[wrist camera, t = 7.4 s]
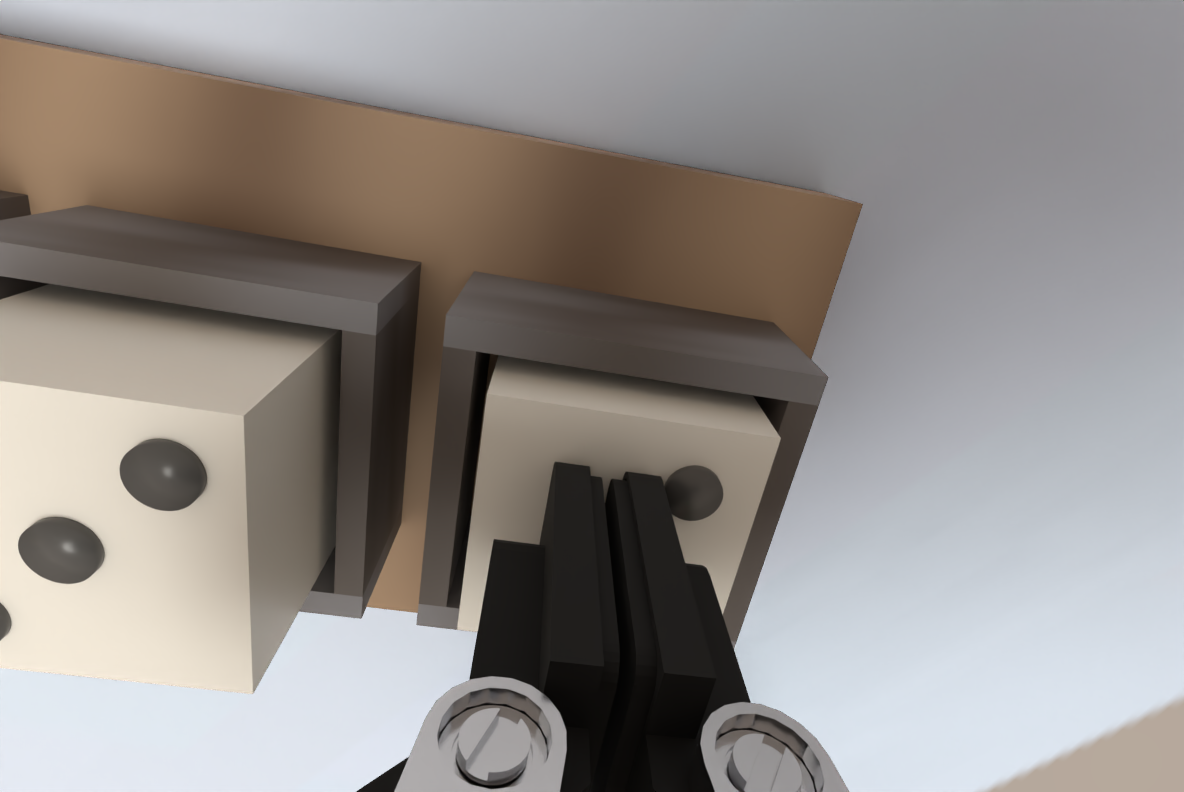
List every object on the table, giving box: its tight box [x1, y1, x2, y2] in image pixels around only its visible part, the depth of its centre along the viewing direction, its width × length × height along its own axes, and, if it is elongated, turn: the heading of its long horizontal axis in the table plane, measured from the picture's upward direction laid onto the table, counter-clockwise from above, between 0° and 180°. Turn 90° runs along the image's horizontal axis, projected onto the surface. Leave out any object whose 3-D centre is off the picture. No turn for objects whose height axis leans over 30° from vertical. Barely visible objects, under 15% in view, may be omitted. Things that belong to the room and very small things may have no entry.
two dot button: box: [457, 355, 781, 632], centre depth 12 cm, size 4×4×4 cm
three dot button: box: [0, 284, 342, 694], centre depth 10 cm, size 4×4×4 cm
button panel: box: [0, 34, 863, 649], centre depth 13 cm, size 22×11×5 cm, turn 80°
